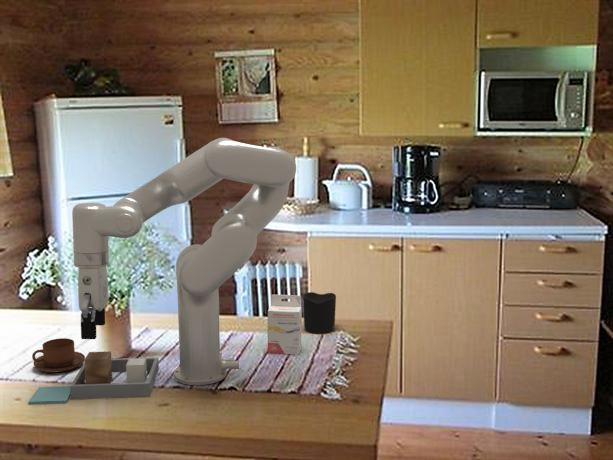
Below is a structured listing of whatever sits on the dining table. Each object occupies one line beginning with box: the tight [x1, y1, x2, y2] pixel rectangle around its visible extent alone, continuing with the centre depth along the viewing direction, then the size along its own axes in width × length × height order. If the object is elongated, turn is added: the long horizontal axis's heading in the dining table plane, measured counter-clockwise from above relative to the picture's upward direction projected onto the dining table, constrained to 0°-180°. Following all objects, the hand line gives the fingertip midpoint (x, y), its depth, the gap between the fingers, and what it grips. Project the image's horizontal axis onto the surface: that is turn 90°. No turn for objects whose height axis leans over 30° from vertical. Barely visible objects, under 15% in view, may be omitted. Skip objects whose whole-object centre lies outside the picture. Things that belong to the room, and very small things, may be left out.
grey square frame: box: [69, 357, 160, 400], centre depth 160 cm, size 17×16×3 cm
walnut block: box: [83, 351, 113, 384], centre depth 159 cm, size 5×5×7 cm
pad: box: [28, 385, 71, 405], centre depth 153 cm, size 8×8×1 cm
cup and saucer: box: [31, 337, 86, 373], centre depth 170 cm, size 12×12×6 cm
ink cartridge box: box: [267, 294, 303, 355], centre depth 180 cm, size 9×5×15 cm, turn 84°
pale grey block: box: [125, 359, 148, 383], centre depth 161 cm, size 4×4×5 cm
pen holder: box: [302, 291, 337, 335], centre depth 198 cm, size 9×9×10 cm
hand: (93, 331), depth 158 cm, fingers open, 9 cm apart
